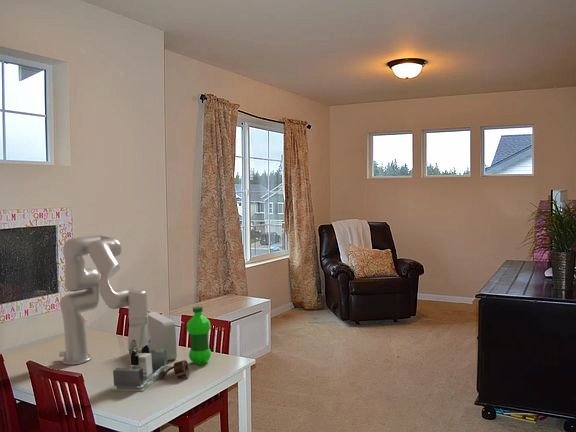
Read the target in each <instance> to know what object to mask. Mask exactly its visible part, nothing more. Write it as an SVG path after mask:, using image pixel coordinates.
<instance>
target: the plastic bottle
mask: <svg viewBox="0 0 576 432" xmlns="http://www.w3.org/2000/svg"><path fill="white" fill-rule="evenodd" d="M203 309H204V308H203V306H201V305H200V306H199V305H197V306H194V307H192V312H193V314H194V315H193V316H192V317H191V318H190V319H189V320H188V321H187V323H186V330H187V333H188V334H189V339H190V342H189V343H190V351H189V353H188V358H189V360H190V361H191V362H192V363H194V364H195V365H198V366H199V365H200V364H201V365H205V364H206V363H207V362H208V361H209V360H210V358H211V356H212V350H211V349H210V347H209V345H210V343H209V331H210V329H211V325H212V324H211V321H210V320H209V319H208V318H207V317H206V316H204V315H203V314H202V312H203V311H204V310H203Z"/></svg>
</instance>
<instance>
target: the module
mask: <svg viewBox="0 0 576 432" xmlns="http://www.w3.org/2000/svg"><path fill="white" fill-rule="evenodd" d="M138 357H139V365H131V356H129V359H130V368H132V367H133V366H139V367H140V369H143V376H148V375H149V374H151V373H152V357H151V353H140V352H138Z"/></svg>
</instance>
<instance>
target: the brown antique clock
mask: <svg viewBox="0 0 576 432" xmlns="http://www.w3.org/2000/svg"><path fill="white" fill-rule="evenodd" d="M171 370H173V371H174V374H172V375H167V374H168V373H169V372H170V371H171ZM190 372H191V368H190V367H189V363H188V361H187V360H186V359H183V360H180V361H177V362H174V363H173V365H171V367H170V368H169V369H168V370H166V372H165V371H164V370H163V371H161V372H160V374H159V378H158V379H160V380H164V378H166V379H173V378H177V379H180V378H183V377H186V380H187V379H189V377H190Z"/></svg>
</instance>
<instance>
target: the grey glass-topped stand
mask: <svg viewBox="0 0 576 432" xmlns="http://www.w3.org/2000/svg"><path fill="white" fill-rule="evenodd" d="M139 353H142V350H141V351H140V352H139ZM149 353H151V357H152V373H151V374H149V375H148V376H143V369H140V367H139V366H133V367H132V368H131V367H129V368H128V367H126V368H125V367H117V368H115V369H113V371H112V374H113V386H112V387H111V388H109V389H110V390H109V391H114V392H115V391H119V392H120V391H121V392H144V391H146V390H147V389H148V388H149V387H150V386H152V385H153V384H154V383H155V382H157V381H158V379H160V378H159V374H160V372H161V371H163V370H164V371H165V372H166V370H168V369H169V368H170V367H172V365H168V361H167V350H164V348H158V349H156V350H149Z"/></svg>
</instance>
